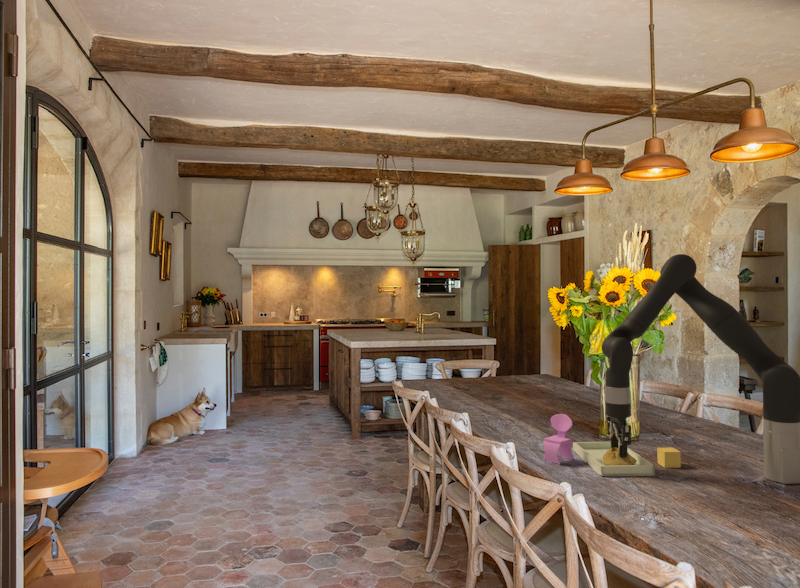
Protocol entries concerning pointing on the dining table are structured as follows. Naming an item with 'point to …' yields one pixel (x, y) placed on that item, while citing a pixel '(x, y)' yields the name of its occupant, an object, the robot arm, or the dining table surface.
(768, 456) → the robot arm
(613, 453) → the fossil
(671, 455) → the block
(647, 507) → the dining table surface
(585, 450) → the tray
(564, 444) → the toy chair
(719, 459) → the dining table surface
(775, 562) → the dining table surface
